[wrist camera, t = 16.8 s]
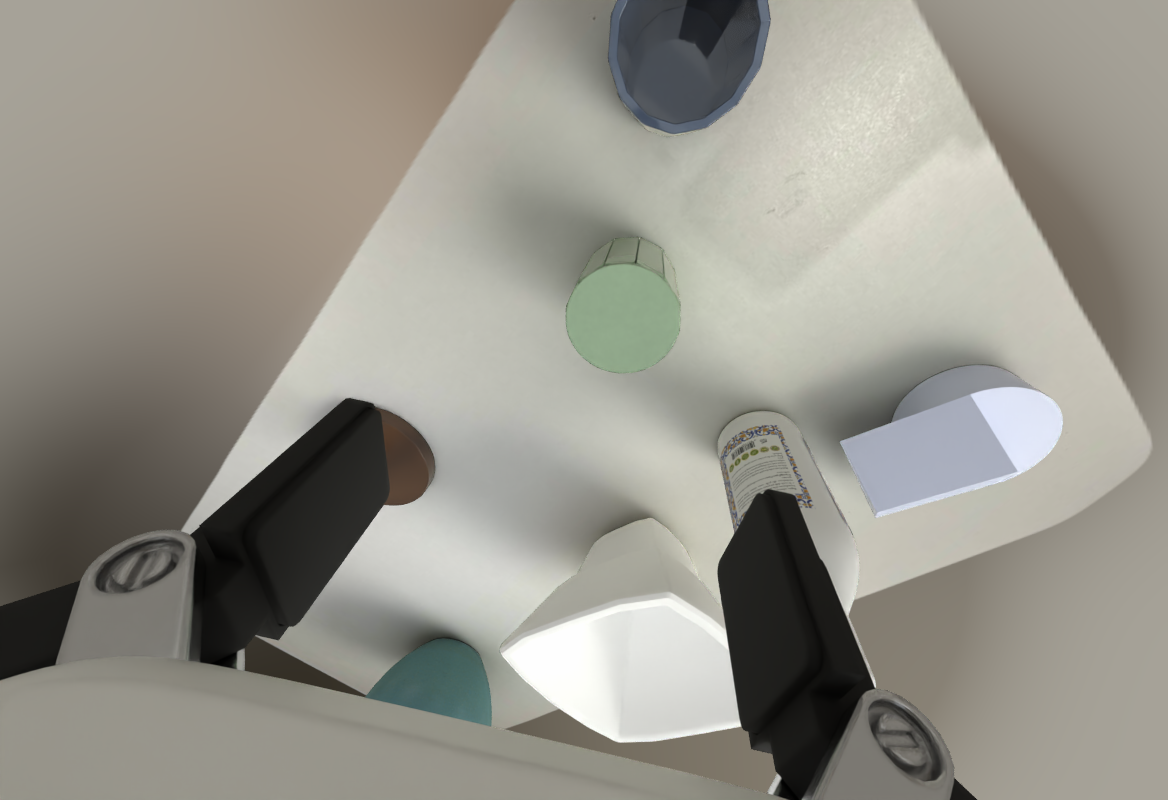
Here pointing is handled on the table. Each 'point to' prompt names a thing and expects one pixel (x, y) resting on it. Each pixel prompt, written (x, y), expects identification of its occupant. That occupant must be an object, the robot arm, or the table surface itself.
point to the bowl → (631, 642)
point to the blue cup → (685, 59)
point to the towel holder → (406, 460)
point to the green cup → (625, 307)
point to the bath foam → (789, 491)
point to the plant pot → (439, 682)
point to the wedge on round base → (954, 438)
